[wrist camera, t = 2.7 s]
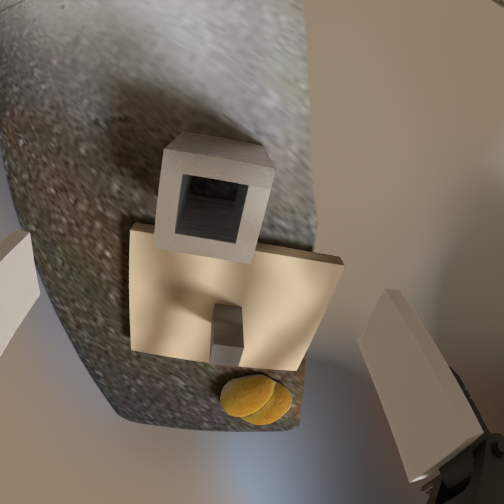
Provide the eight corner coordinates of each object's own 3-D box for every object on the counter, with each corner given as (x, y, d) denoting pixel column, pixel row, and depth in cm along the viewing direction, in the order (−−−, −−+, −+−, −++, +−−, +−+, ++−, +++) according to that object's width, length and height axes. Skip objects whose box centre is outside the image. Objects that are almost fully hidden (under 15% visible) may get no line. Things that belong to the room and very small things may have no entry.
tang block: (134, 339, 31) (120, 386, 26) (135, 222, 25) (110, 263, 19) (294, 360, 34) (303, 407, 28) (339, 256, 27) (364, 301, 22)
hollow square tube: (172, 205, 24) (153, 247, 18) (183, 131, 21) (163, 148, 15) (246, 217, 25) (251, 264, 19) (263, 145, 22) (275, 168, 16)
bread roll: (249, 362, 34) (251, 390, 31) (300, 388, 37) (305, 413, 34) (205, 392, 37) (204, 418, 33) (256, 414, 40) (258, 438, 37)
